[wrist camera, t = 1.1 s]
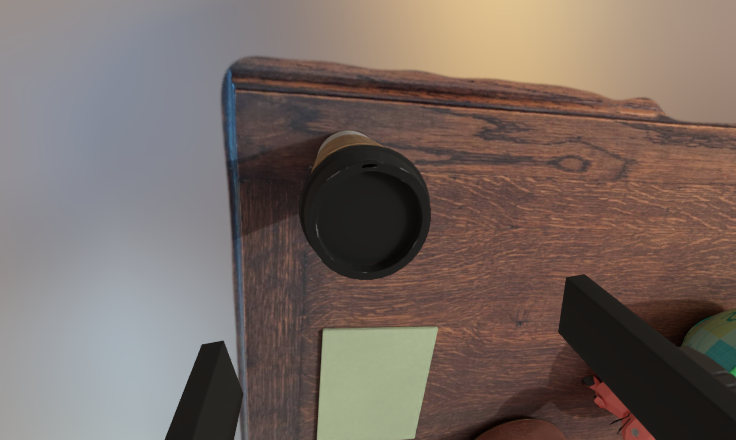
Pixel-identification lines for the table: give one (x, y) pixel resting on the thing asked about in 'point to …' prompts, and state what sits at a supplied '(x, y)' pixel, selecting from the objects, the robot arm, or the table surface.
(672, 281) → the table surface
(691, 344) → the bowl
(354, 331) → the sage mat
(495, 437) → the planter
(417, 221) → the coffee cup
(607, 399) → the cat figurine
